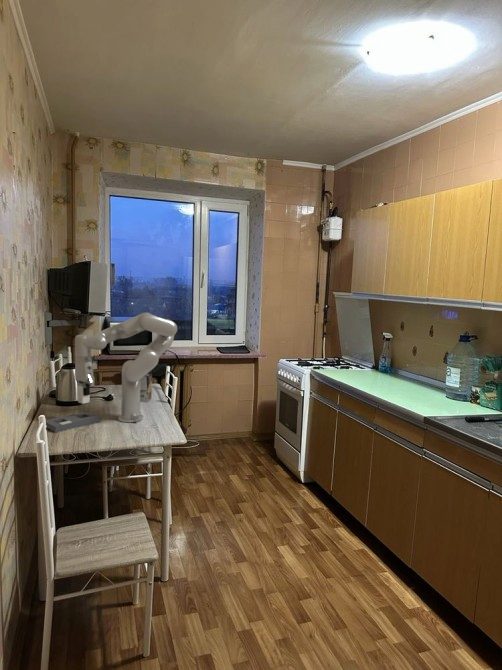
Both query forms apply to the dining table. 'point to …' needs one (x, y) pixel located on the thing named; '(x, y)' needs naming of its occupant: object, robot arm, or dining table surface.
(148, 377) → the coffee box
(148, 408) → the dining table surface
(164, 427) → the dining table surface
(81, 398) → the white plug block
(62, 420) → the charcoal socket panel
